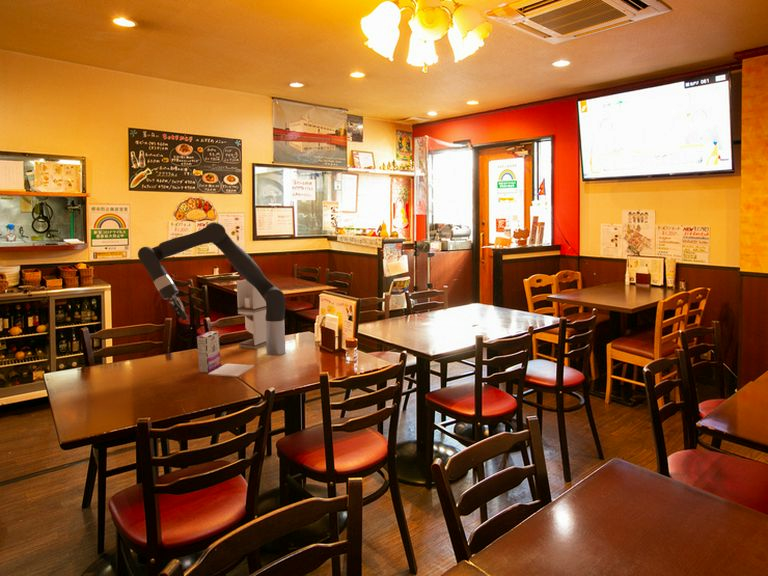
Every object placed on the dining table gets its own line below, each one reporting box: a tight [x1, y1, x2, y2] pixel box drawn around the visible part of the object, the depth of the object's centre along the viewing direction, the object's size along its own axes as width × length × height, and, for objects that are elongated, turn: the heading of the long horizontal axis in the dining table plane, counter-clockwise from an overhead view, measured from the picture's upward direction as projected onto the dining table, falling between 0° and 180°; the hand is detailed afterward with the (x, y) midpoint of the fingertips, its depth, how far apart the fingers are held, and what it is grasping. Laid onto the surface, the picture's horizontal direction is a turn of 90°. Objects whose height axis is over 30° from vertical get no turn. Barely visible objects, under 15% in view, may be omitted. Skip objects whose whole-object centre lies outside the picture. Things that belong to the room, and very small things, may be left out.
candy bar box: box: [196, 330, 222, 373], centre depth 240 cm, size 11×5×16 cm, turn 168°
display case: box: [236, 279, 266, 350], centre depth 282 cm, size 11×11×35 cm
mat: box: [208, 363, 255, 378], centre depth 239 cm, size 16×14×1 cm
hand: (186, 319), depth 241 cm, fingers closed
